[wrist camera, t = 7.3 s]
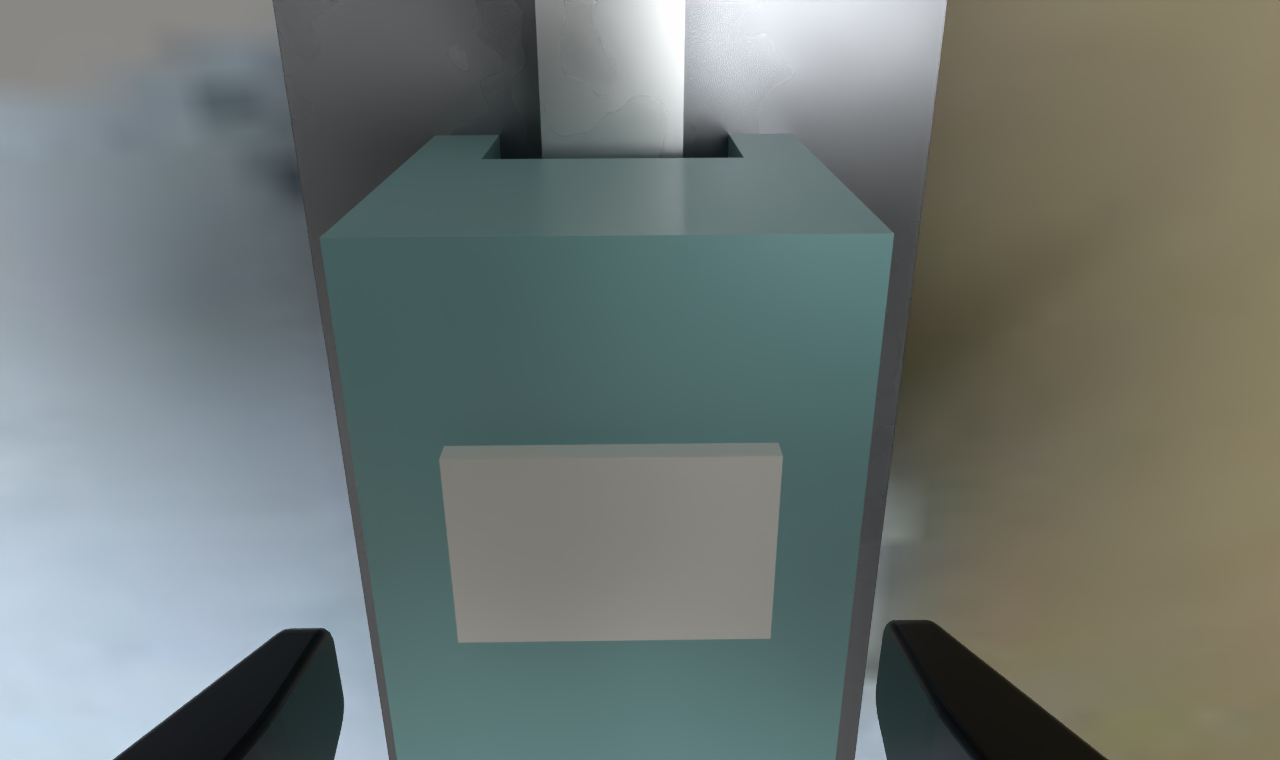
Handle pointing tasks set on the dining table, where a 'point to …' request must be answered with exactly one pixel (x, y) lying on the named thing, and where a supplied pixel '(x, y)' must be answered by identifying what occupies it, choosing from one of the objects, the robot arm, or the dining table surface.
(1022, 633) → the dining table surface
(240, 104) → the dining table surface
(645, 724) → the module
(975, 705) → the robot arm
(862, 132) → the plate
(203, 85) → the dining table surface
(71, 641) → the dining table surface
